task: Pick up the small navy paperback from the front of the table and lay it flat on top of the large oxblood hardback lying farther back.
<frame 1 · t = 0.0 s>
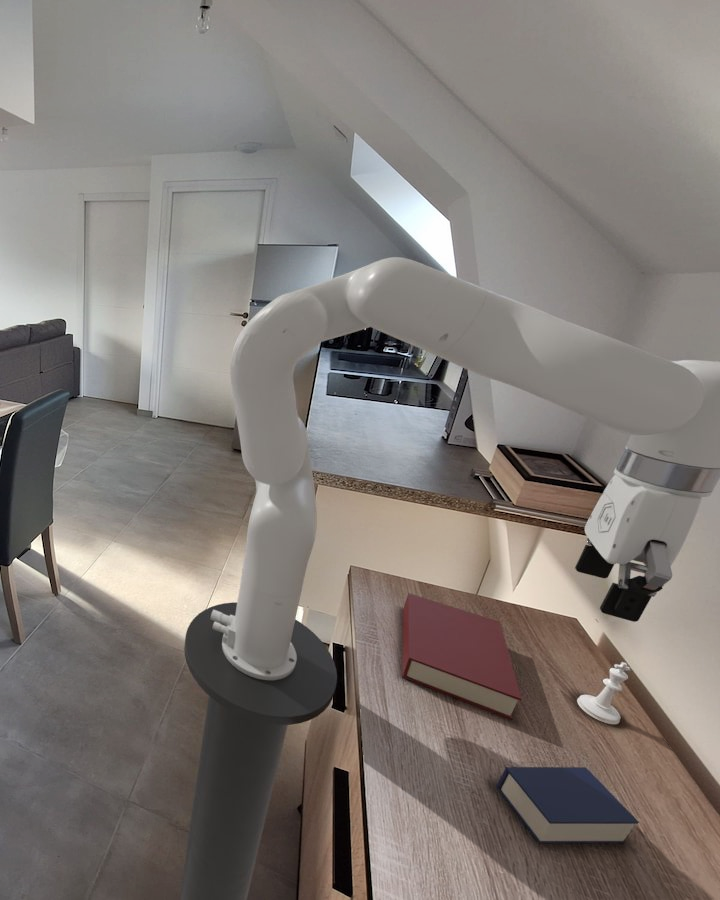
hand: (603, 593, 58), 27 cm above the sideboard, tool pointing down, fingers open, 9 cm apart
chess piece: (597, 711, 73), on the sideboard
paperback: (557, 813, 58), on the sideboard
hardback: (449, 657, 82), on the sideboard
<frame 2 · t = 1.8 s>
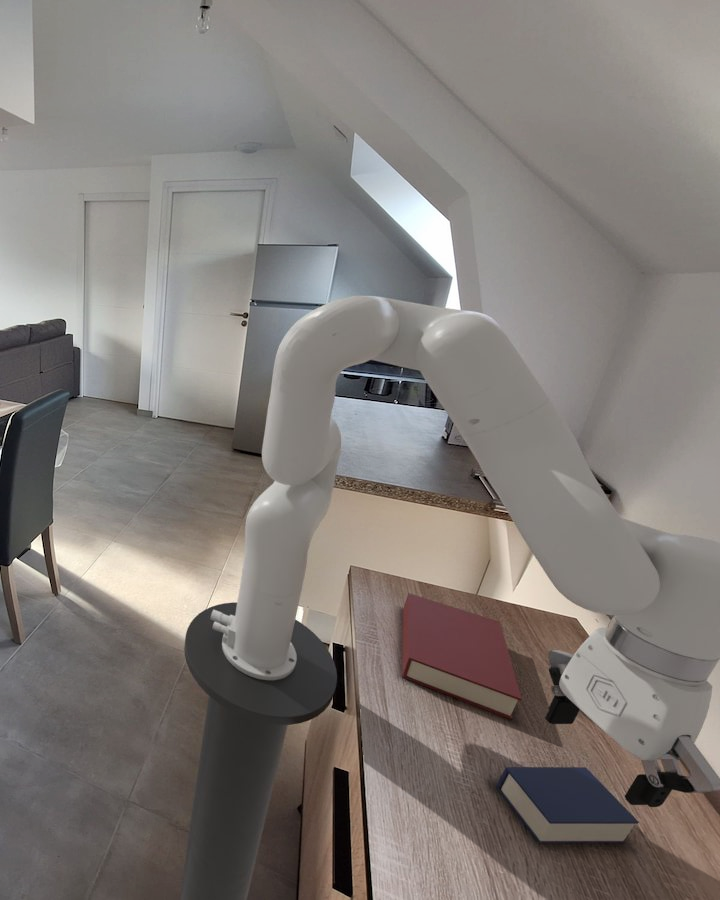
hand: (595, 758, 54), 11 cm above the sideboard, tool pointing down, fingers open, 9 cm apart
nothing on the sideboard moved.
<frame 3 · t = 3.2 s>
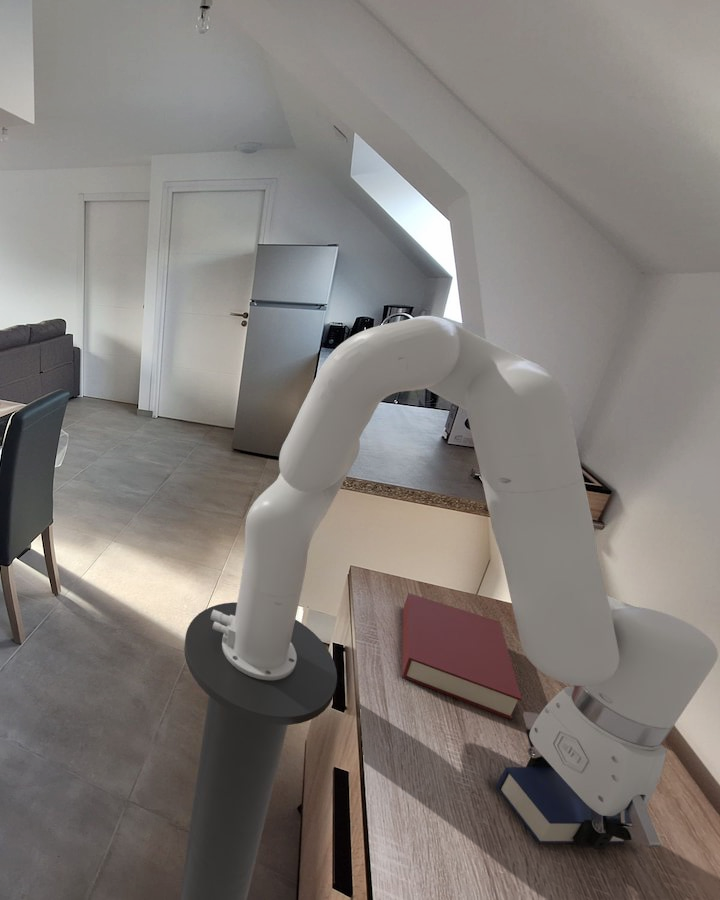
hand: (559, 810, 58), 1 cm above the sideboard, tool pointing down, fingers closed on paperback, 6 cm apart
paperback: (557, 813, 58), on the sideboard, touching gripper
everything else where it was.
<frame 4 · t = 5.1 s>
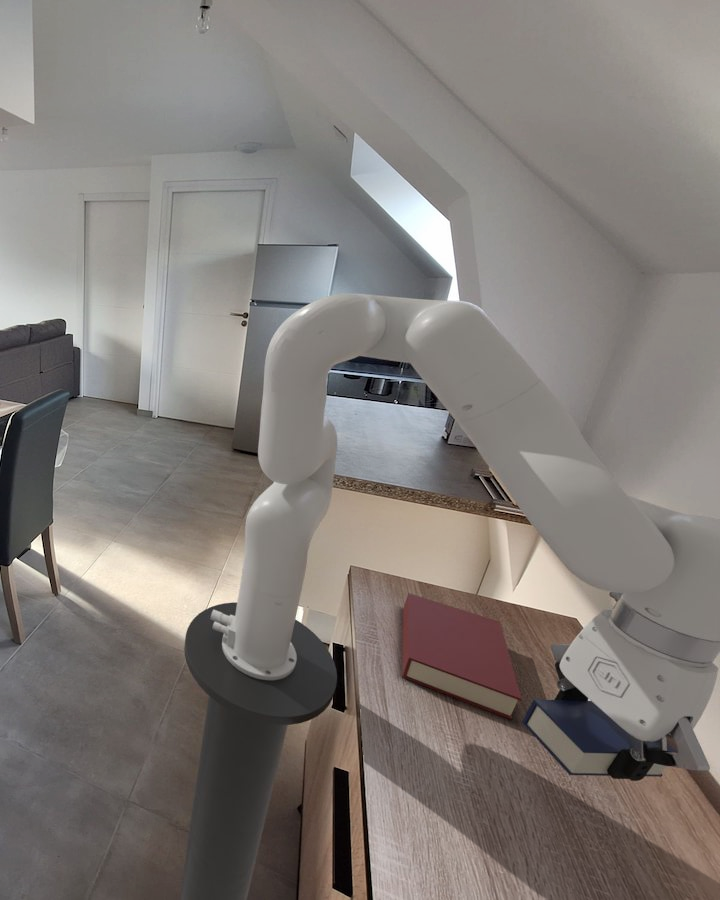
hand: (590, 743, 54), 12 cm above the sideboard, tool pointing down, fingers closed on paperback, 6 cm apart
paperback: (587, 748, 54), point 12 cm above the sideboard, touching gripper
everything else where it was.
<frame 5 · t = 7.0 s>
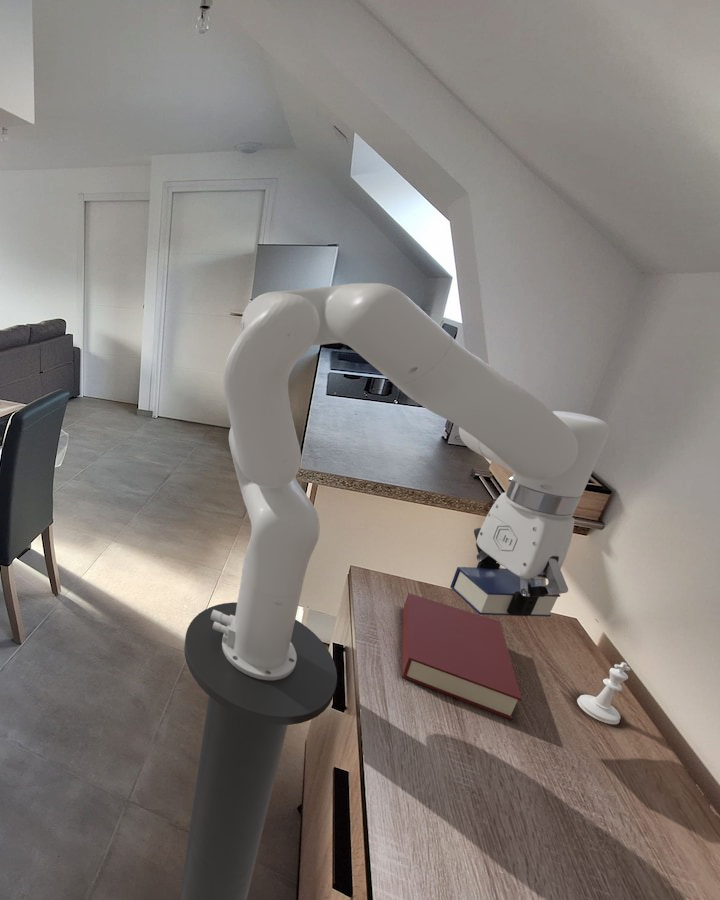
hand: (499, 597, 71), 18 cm above the sideboard, tool pointing down, fingers closed on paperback, 6 cm apart
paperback: (498, 601, 72), point 17 cm above the sideboard, touching gripper
everything else where it was.
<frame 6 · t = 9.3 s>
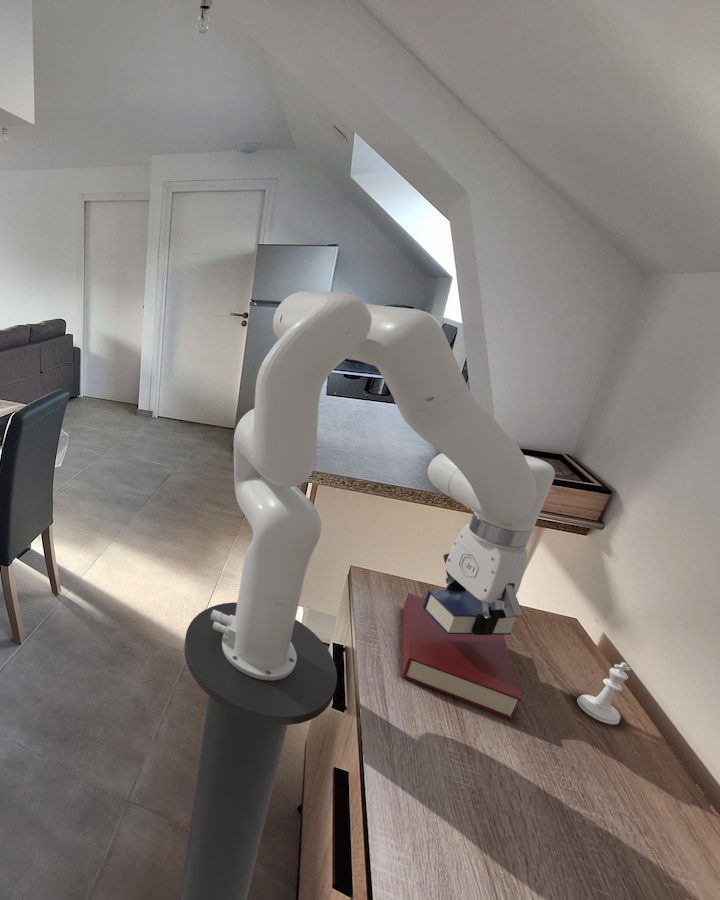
hand: (465, 617, 79), 9 cm above the sideboard, tool pointing down, fingers closed on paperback, 6 cm apart
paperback: (464, 620, 79), point 8 cm above the sideboard, touching gripper
everything else where it was.
when the fingers open (5 cm above the sideboard, at t = 10.8 s): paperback stays where it is, resting on hardback.
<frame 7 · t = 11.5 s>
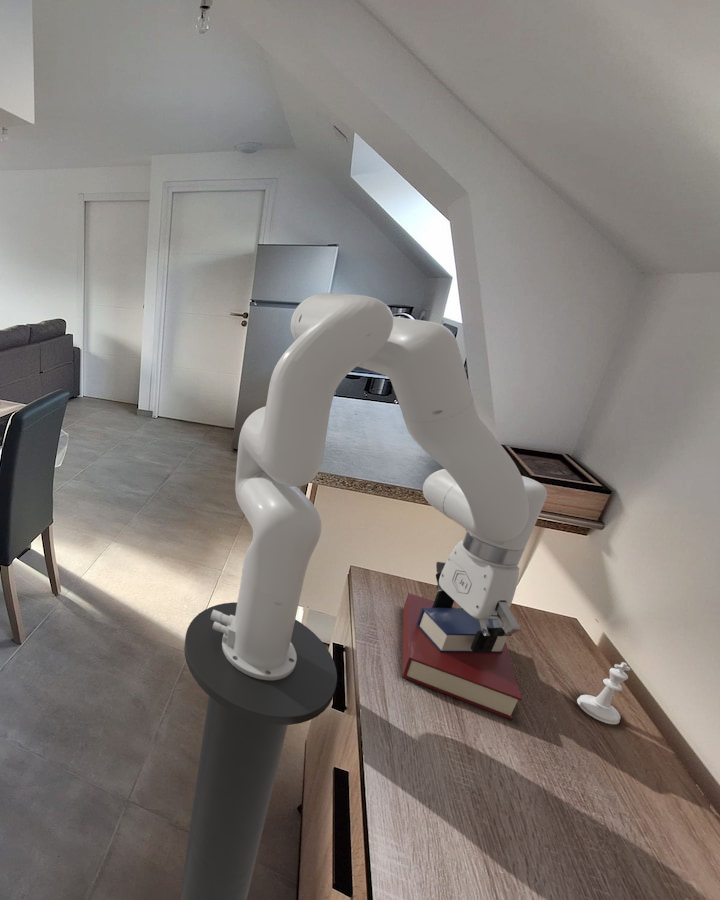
hand: (459, 629, 80), 6 cm above the sideboard, tool pointing down, fingers open, 9 cm apart
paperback: (457, 638, 81), point 5 cm above the sideboard, touching hardback
hardback: (449, 657, 82), on the sideboard, touching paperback
everything else where it was.
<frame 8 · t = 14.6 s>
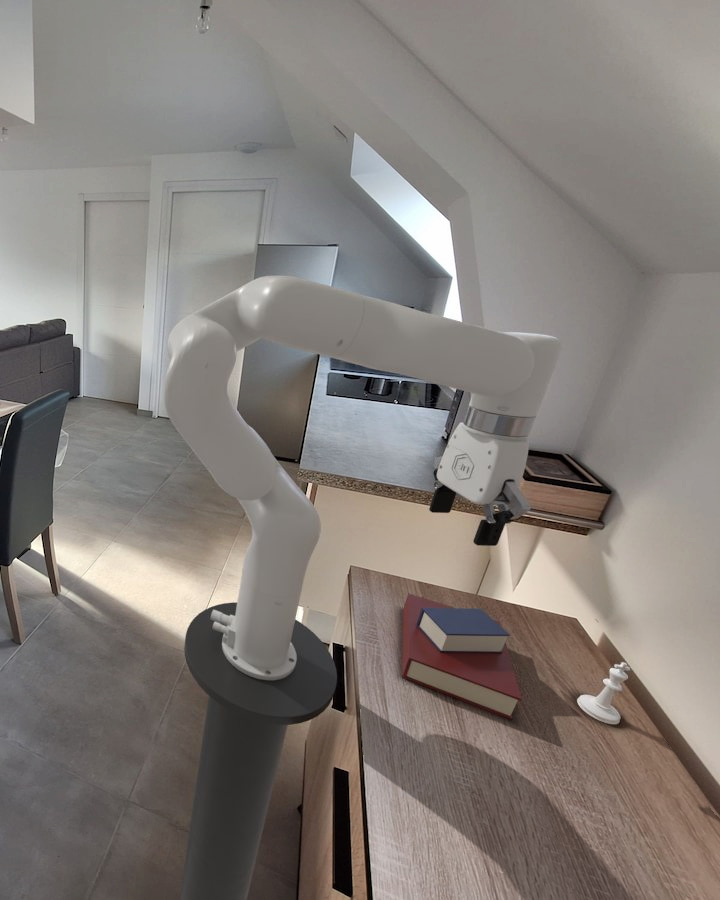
hand: (460, 527, 70), 28 cm above the sideboard, tool pointing down, fingers open, 9 cm apart
nothing on the sideboard moved.
at the end: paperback inside the target area on the hardback (0.1 cm from its centre), point 4.5 cm above the hardback's base; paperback tilted 0°; hardback moved 0.0 cm from its start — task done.
